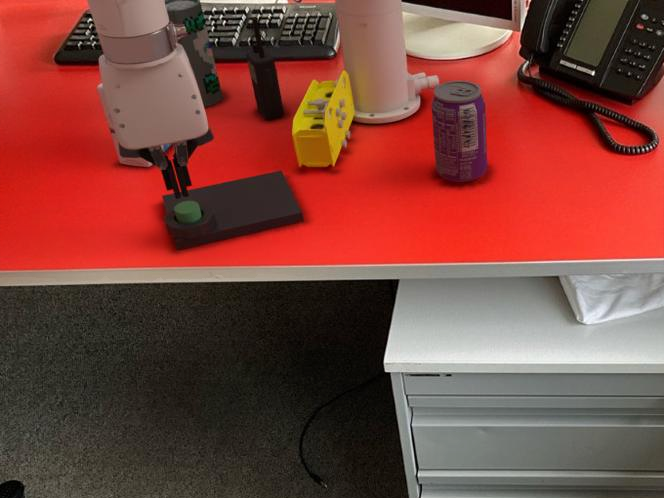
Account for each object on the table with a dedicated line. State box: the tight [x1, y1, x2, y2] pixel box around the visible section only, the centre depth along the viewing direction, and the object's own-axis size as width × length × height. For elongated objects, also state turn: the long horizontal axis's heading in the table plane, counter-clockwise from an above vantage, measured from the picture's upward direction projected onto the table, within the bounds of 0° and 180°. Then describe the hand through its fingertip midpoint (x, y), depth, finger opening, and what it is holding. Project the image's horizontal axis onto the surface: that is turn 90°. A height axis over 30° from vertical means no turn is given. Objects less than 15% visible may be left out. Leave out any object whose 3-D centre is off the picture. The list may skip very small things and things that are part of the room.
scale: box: [161, 169, 305, 251], centre depth 116 cm, size 16×12×3 cm
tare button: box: [174, 201, 202, 223], centre depth 111 cm, size 3×3×2 cm
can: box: [164, 0, 224, 108], centre depth 138 cm, size 6×6×15 cm
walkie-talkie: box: [245, 16, 285, 121], centre depth 134 cm, size 5×3×15 cm
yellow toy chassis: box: [291, 70, 355, 168], centre depth 128 cm, size 16×6×8 cm, turn 176°
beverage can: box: [430, 80, 488, 183], centre depth 119 cm, size 7×7×12 cm
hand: (180, 192), depth 109 cm, fingers closed
